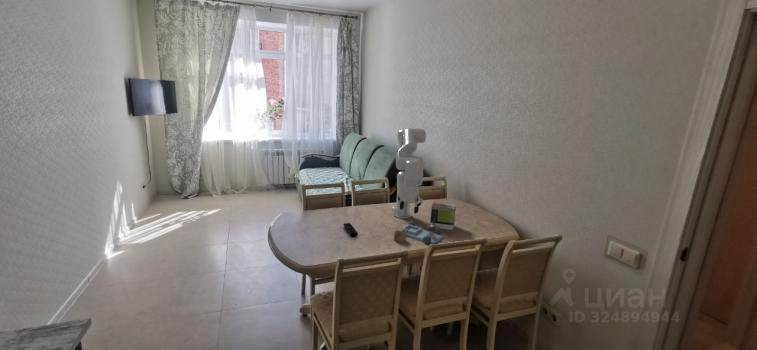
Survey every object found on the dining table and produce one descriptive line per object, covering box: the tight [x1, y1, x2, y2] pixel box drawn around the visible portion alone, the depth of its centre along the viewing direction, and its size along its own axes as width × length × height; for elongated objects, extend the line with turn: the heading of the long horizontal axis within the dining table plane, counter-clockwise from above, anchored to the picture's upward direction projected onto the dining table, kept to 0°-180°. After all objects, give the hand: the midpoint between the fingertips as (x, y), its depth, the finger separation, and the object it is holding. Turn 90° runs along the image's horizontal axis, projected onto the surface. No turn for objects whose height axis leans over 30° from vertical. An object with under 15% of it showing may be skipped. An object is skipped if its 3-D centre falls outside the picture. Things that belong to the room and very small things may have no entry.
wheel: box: [426, 224, 437, 234], centre depth 211 cm, size 5×5×5 cm
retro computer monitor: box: [429, 201, 457, 231], centre depth 230 cm, size 15×10×15 cm
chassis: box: [396, 220, 443, 245], centre depth 216 cm, size 26×16×4 cm, turn 56°
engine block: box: [393, 227, 407, 244], centre depth 207 cm, size 5×5×7 cm
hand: (408, 210), depth 204 cm, fingers open, 9 cm apart
